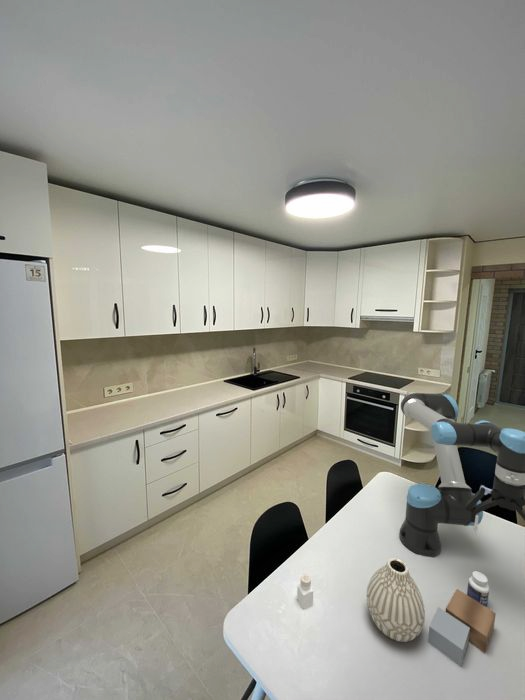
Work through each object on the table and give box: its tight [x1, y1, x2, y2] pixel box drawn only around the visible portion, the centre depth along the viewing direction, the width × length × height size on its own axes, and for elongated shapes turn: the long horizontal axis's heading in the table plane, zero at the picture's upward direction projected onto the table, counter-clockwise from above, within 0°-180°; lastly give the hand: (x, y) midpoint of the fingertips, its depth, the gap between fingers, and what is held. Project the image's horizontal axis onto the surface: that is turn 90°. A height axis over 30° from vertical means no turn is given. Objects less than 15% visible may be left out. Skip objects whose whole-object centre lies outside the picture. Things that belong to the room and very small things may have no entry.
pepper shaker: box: [296, 573, 314, 610], centre depth 93 cm, size 4×4×10 cm
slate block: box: [427, 606, 470, 667], centre depth 82 cm, size 8×8×6 cm
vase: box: [366, 557, 426, 643], centre depth 86 cm, size 16×16×20 cm
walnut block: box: [444, 588, 497, 654], centre depth 87 cm, size 10×10×6 cm
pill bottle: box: [466, 570, 490, 608], centre depth 94 cm, size 5×5×10 cm
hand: (501, 541), depth 92 cm, fingers open, 13 cm apart
